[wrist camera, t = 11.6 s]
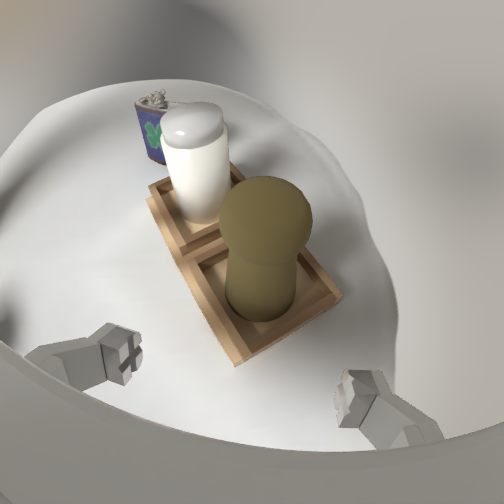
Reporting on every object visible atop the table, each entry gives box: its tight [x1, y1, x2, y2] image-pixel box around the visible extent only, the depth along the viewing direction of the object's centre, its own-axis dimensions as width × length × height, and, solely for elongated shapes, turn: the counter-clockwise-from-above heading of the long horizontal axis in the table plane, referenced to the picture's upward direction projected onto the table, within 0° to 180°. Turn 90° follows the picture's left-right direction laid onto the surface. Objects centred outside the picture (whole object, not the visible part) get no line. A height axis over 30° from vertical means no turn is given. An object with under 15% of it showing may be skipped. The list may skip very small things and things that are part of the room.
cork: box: [219, 176, 313, 322], centre depth 18 cm, size 6×6×11 cm
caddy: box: [146, 161, 343, 367], centre depth 26 cm, size 20×11×3 cm, turn 32°
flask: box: [135, 90, 188, 166], centre depth 30 cm, size 9×3×11 cm, turn 60°
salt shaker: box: [160, 102, 231, 225], centre depth 24 cm, size 6×6×11 cm
